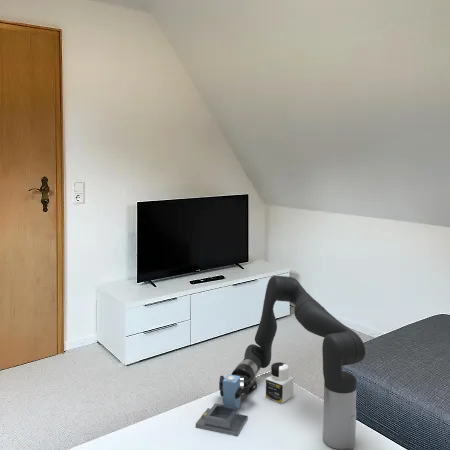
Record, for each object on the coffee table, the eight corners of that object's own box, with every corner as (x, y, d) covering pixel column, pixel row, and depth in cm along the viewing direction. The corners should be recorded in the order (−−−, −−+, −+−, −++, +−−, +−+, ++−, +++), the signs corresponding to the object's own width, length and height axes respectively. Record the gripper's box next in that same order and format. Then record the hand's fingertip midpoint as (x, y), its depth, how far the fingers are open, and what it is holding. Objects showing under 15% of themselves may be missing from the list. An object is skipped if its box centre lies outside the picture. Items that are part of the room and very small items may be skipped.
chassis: (247, 419, 154) (247, 408, 154) (237, 435, 145) (237, 424, 144) (207, 411, 159) (207, 401, 158) (195, 427, 150) (195, 416, 149)
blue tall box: (240, 407, 162) (240, 374, 160) (235, 414, 157) (235, 380, 156) (228, 404, 163) (228, 372, 162) (223, 411, 159) (222, 378, 157)
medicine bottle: (265, 397, 168) (265, 365, 167) (276, 390, 174) (277, 358, 172) (282, 404, 164) (282, 370, 162) (293, 396, 169) (294, 364, 168)
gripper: (226, 360, 175) (208, 380, 159) (264, 366, 170) (249, 387, 154) (226, 380, 176) (208, 402, 160) (263, 386, 171) (249, 409, 155)
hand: (229, 394), depth 157 cm, fingers closed on blue tall box, 4 cm apart
